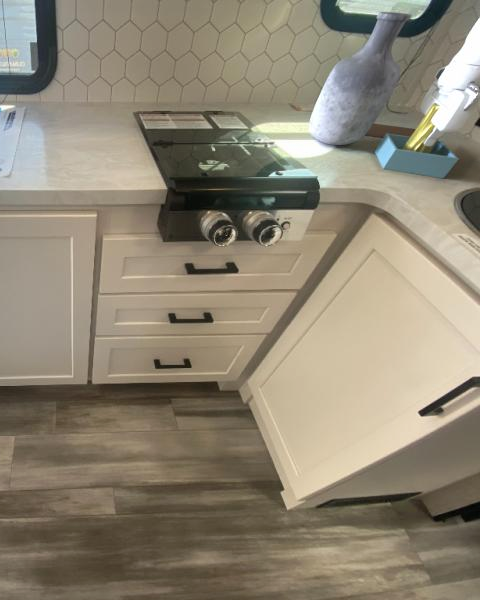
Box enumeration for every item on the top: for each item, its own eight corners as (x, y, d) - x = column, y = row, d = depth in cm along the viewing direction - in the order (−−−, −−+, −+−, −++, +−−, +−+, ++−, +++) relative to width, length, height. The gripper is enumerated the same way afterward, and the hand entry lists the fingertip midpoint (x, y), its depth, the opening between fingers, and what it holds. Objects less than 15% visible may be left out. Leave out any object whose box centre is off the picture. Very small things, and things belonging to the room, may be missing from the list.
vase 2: (393, 157, 96) (431, 100, 86) (420, 163, 93) (461, 105, 83) (392, 164, 92) (431, 106, 82) (420, 170, 90) (464, 110, 80)
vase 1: (352, 136, 108) (420, 12, 87) (366, 155, 97) (448, 18, 76) (297, 130, 111) (350, 9, 90) (304, 147, 100) (367, 14, 79)
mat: (414, 130, 114) (414, 128, 113) (425, 144, 104) (426, 142, 104) (352, 121, 118) (353, 120, 118) (358, 134, 109) (358, 133, 109)
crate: (429, 159, 95) (442, 141, 92) (443, 178, 87) (459, 158, 83) (374, 151, 99) (385, 133, 95) (382, 168, 90) (395, 149, 87)
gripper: (502, 89, 71) (450, 157, 81) (467, 71, 85) (426, 130, 94) (464, 86, 73) (418, 152, 82) (436, 68, 86) (400, 127, 96)
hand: (422, 140), depth 89 cm, fingers open, 6 cm apart
